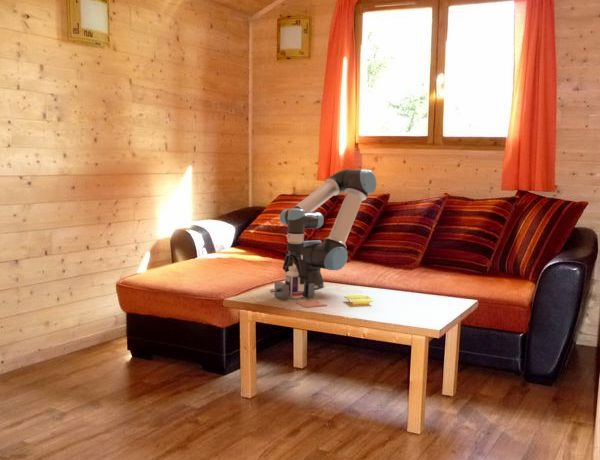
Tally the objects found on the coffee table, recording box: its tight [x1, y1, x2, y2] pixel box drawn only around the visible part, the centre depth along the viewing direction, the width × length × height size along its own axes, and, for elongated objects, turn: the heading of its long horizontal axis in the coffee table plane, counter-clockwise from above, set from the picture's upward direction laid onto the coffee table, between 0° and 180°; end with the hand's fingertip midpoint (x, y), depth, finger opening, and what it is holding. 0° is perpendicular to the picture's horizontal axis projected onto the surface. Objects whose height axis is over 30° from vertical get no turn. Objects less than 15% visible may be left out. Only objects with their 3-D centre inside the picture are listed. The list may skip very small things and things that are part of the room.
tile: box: [295, 299, 328, 309], centre depth 281 cm, size 10×10×1 cm
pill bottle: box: [286, 265, 304, 300], centre depth 293 cm, size 8×8×14 cm
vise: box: [269, 280, 318, 302], centre depth 294 cm, size 24×9×7 cm, turn 117°
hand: (294, 288), depth 294 cm, fingers open, 13 cm apart
